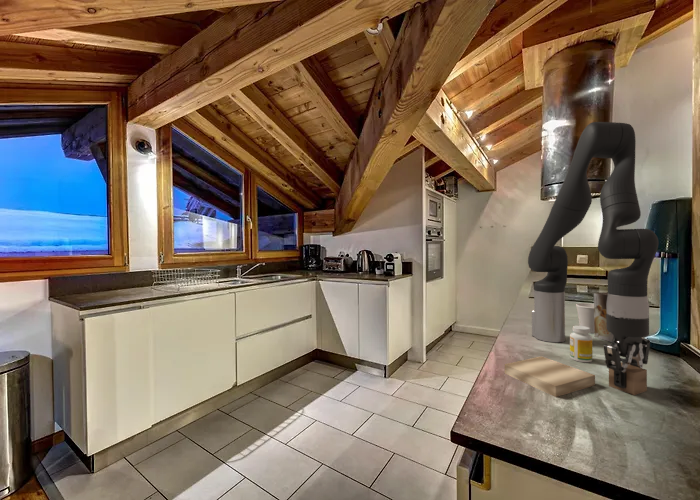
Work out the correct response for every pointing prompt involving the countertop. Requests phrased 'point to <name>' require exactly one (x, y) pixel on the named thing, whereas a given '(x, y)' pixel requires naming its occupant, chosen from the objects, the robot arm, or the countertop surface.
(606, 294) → the coffee box
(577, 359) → the supplement bottle
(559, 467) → the countertop surface
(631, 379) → the walnut cube
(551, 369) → the maple block
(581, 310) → the dixie cup
